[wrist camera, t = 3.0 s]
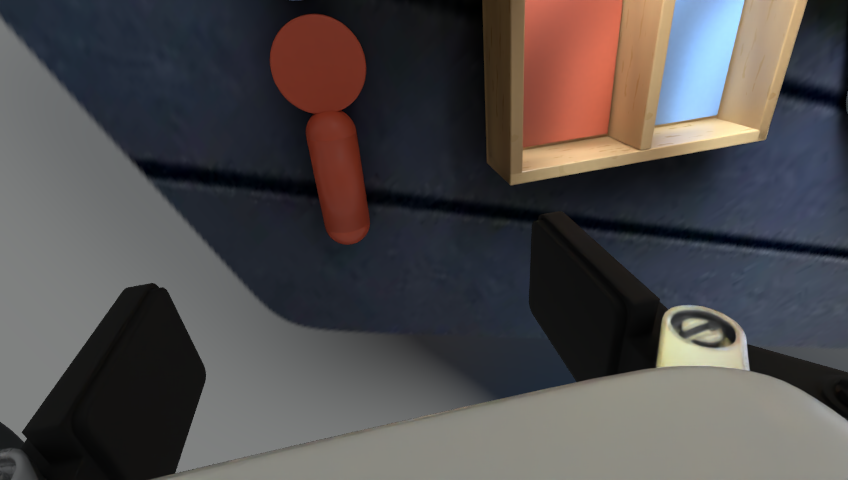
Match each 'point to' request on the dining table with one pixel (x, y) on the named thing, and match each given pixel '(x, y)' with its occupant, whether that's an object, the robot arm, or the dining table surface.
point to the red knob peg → (327, 113)
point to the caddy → (628, 79)
